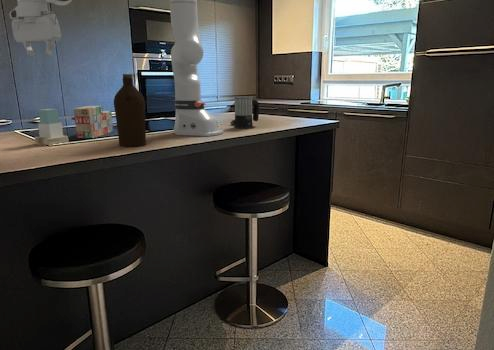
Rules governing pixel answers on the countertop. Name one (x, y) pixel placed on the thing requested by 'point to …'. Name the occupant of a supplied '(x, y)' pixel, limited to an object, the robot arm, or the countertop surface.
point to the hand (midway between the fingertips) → (40, 55)
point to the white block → (50, 130)
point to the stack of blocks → (92, 121)
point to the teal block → (48, 116)
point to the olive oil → (130, 114)
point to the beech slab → (51, 140)
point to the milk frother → (245, 112)
